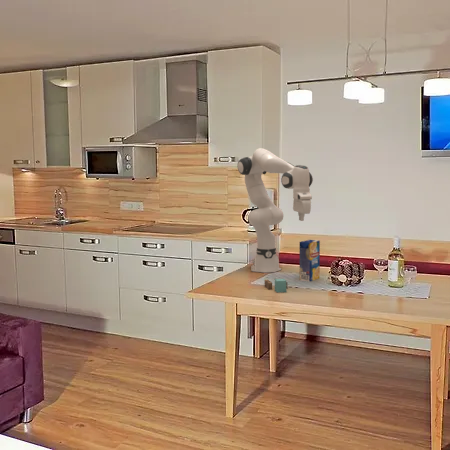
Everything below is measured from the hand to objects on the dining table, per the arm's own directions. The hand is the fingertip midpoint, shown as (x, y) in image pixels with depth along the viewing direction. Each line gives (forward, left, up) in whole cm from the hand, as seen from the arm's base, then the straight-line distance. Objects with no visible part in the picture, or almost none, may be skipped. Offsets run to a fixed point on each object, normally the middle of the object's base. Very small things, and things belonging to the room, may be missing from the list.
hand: (301, 220), depth 313 cm
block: (+15, -16, -35) cm, 41 cm away
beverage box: (-10, +8, -35) cm, 38 cm away
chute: (+5, -16, -35) cm, 39 cm away
